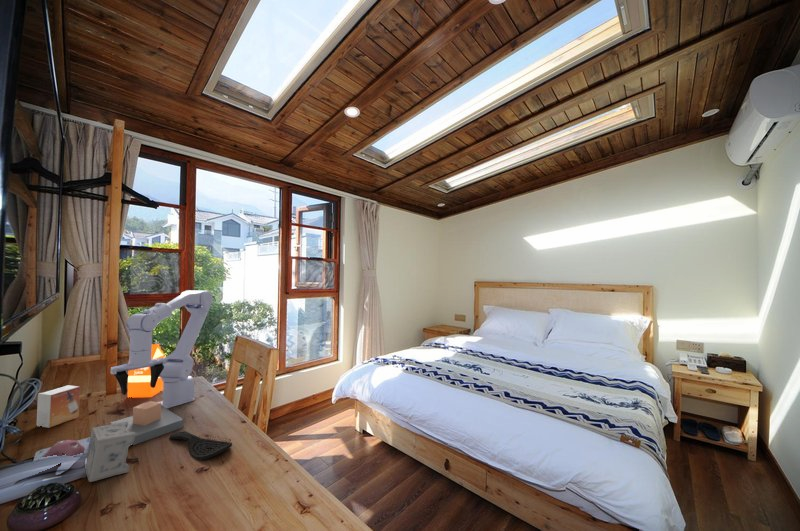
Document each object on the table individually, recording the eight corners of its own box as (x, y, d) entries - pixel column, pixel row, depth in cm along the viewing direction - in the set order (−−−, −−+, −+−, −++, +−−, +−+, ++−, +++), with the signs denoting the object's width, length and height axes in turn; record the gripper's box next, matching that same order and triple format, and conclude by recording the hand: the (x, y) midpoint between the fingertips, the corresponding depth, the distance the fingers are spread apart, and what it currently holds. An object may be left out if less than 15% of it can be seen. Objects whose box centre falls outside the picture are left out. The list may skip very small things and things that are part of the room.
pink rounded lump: (76, 474, 79) (92, 443, 82) (54, 476, 75) (72, 444, 78) (52, 466, 82) (69, 437, 85) (30, 468, 78) (48, 437, 81)
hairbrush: (185, 421, 99) (239, 436, 89) (185, 433, 99) (239, 449, 89) (156, 434, 92) (211, 451, 81) (156, 446, 92) (211, 466, 81)
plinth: (163, 413, 109) (163, 406, 109) (183, 427, 100) (183, 419, 100) (110, 430, 98) (110, 422, 98) (127, 447, 89) (127, 438, 89)
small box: (48, 428, 98) (50, 395, 98) (35, 426, 99) (36, 393, 99) (79, 416, 106) (80, 386, 106) (67, 415, 107) (68, 384, 107)
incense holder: (134, 470, 79) (136, 429, 79) (88, 488, 72) (90, 443, 72) (126, 455, 85) (127, 417, 85) (83, 470, 79) (84, 429, 79)
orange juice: (141, 390, 130) (142, 342, 130) (163, 389, 131) (165, 342, 131) (126, 397, 122) (128, 346, 122) (151, 397, 123) (152, 346, 123)
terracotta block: (149, 416, 102) (149, 401, 102) (160, 418, 101) (161, 402, 101) (132, 423, 97) (133, 407, 97) (144, 425, 96) (145, 409, 96)
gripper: (161, 344, 112) (159, 381, 112) (108, 352, 100) (106, 394, 100) (169, 346, 108) (168, 386, 108) (115, 355, 96) (113, 399, 96)
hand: (138, 390), depth 104 cm, fingers open, 7 cm apart
